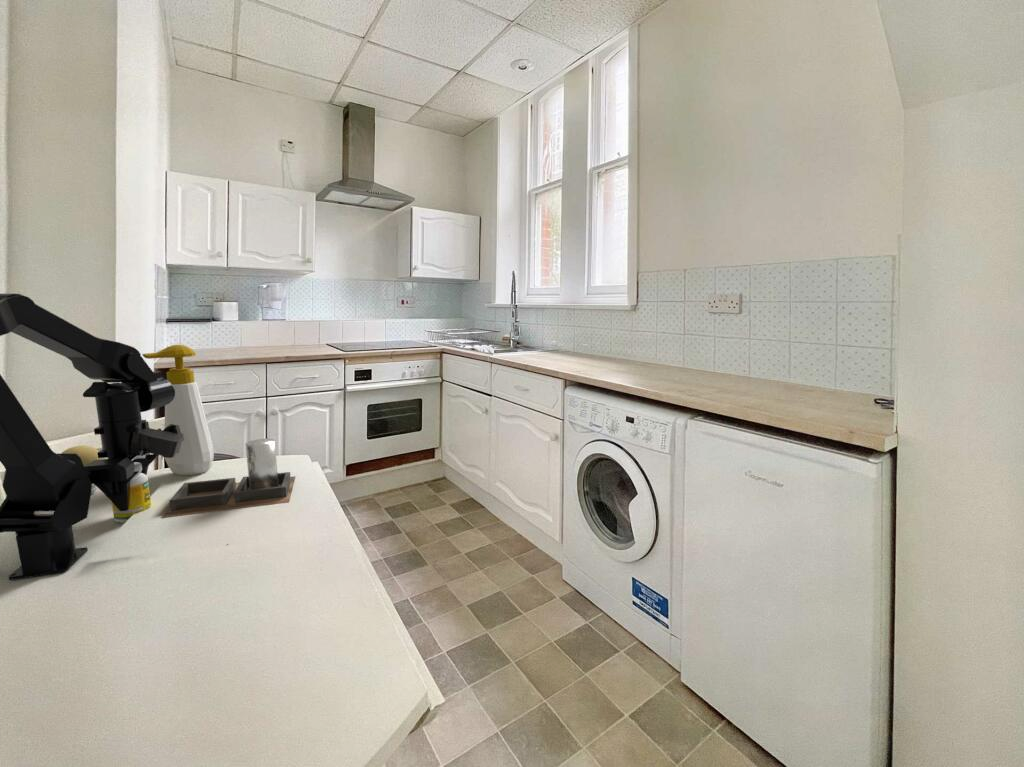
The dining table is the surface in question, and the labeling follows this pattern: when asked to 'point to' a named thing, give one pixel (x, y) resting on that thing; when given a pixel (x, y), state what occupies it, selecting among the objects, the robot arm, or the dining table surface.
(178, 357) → the soap bottle
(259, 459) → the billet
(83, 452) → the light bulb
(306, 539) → the dining table surface
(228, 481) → the brown divided tray
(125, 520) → the supplement bottle
